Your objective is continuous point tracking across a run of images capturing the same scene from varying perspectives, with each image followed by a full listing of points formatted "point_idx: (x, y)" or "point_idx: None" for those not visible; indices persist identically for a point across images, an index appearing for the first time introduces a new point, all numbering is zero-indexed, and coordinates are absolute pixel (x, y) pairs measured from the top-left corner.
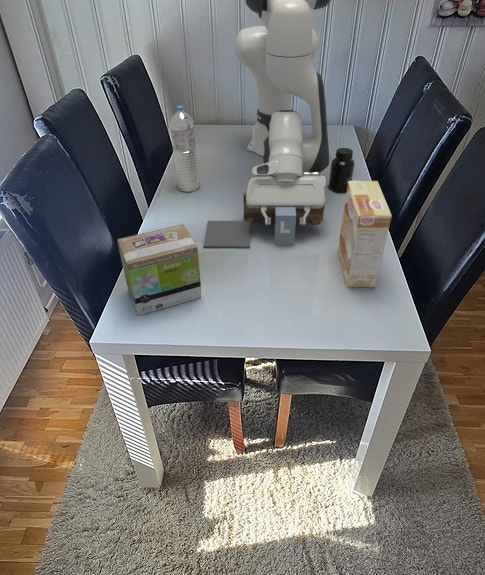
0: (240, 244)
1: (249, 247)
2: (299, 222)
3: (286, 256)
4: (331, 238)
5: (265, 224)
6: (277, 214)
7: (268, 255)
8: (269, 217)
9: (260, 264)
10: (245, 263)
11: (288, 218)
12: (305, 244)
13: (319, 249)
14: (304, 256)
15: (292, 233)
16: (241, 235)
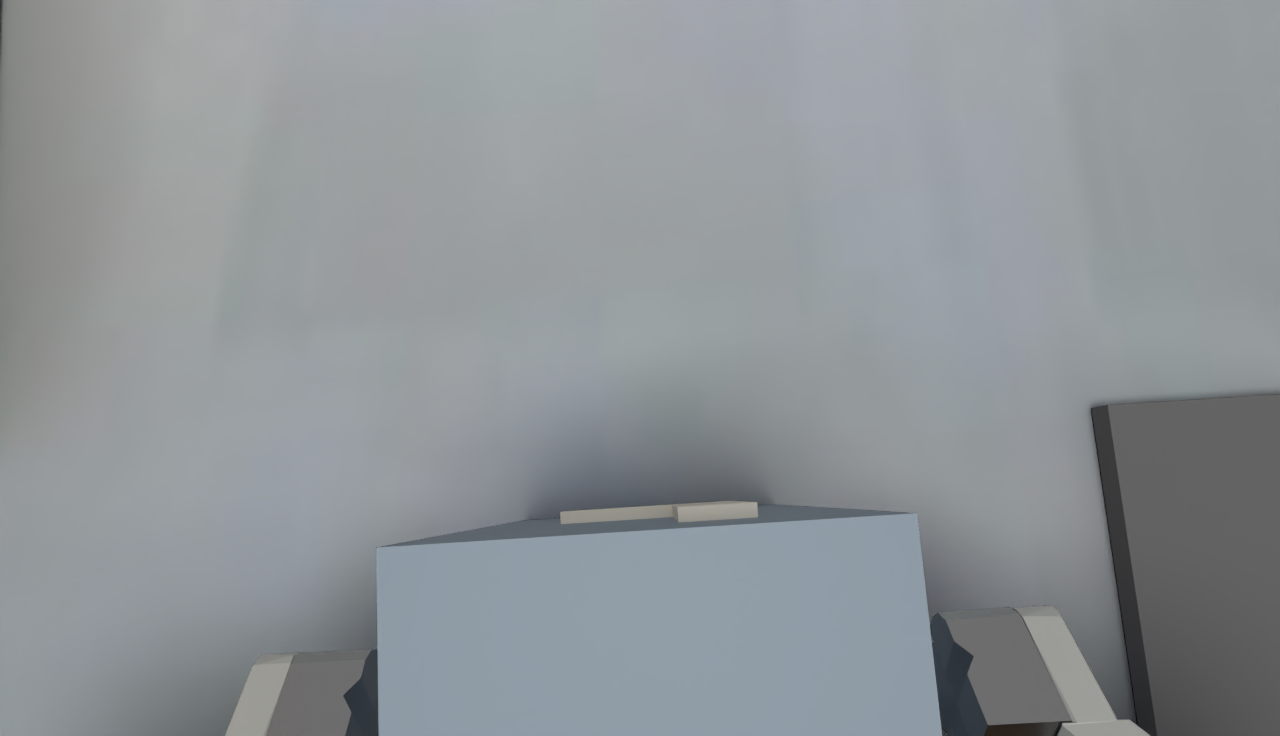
0: (1240, 437)
1: (1101, 408)
2: (378, 726)
3: (617, 278)
4: (16, 719)
5: (1034, 611)
6: (880, 567)
7: (836, 281)
8: (1018, 716)
9: (913, 107)
10: (1089, 111)
11: (584, 531)
12: None
13: (206, 453)
14: (401, 295)
15: (528, 524)
16: (1273, 660)
